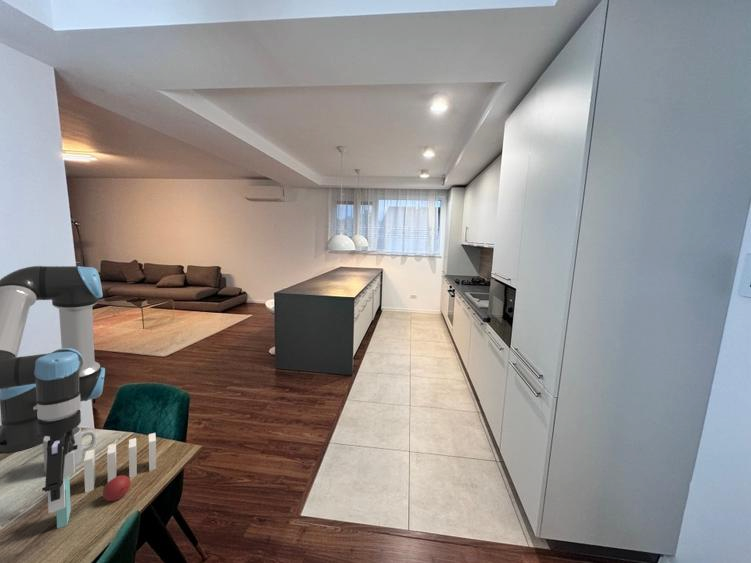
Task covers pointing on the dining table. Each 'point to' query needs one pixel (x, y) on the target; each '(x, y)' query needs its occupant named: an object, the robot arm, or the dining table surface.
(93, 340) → the robot arm
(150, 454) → the domino
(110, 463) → the domino
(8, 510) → the dining table surface
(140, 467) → the dining table surface
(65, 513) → the domino
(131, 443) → the domino
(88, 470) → the domino
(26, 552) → the dining table surface
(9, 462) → the dining table surface
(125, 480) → the fruit
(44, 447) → the mug
